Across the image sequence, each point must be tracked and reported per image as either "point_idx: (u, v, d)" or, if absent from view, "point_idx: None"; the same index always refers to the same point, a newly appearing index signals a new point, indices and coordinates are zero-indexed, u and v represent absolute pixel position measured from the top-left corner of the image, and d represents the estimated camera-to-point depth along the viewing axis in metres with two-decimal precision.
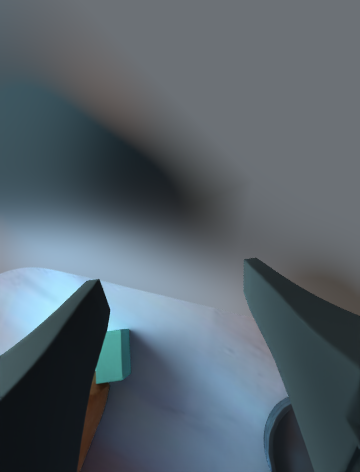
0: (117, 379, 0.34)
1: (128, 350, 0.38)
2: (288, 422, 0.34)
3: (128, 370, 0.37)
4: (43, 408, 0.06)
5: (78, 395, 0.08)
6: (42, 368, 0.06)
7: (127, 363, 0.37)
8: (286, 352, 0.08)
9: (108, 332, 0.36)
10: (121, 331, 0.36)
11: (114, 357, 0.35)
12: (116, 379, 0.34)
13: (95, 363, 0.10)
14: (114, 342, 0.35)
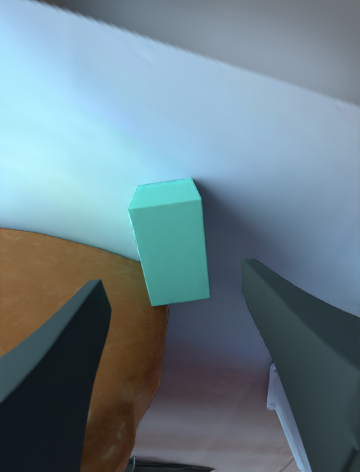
0: (199, 297, 0.15)
1: None
2: None
3: None
4: (46, 407, 0.06)
5: (80, 395, 0.08)
6: (45, 367, 0.06)
7: None
8: (284, 352, 0.08)
9: (165, 206, 0.12)
10: None
11: (188, 261, 0.14)
12: (197, 298, 0.15)
13: (97, 362, 0.10)
14: (186, 231, 0.13)
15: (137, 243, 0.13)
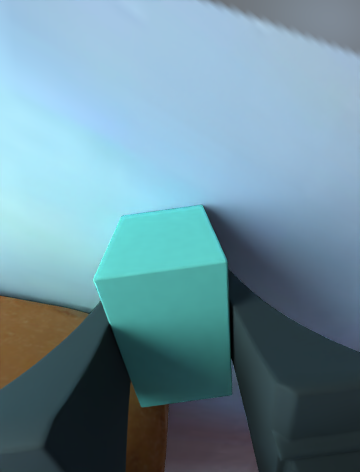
0: (215, 395, 0.10)
1: None
2: None
3: None
4: (101, 400, 0.06)
5: (122, 389, 0.08)
6: (98, 360, 0.06)
7: None
8: (238, 359, 0.08)
9: (162, 273, 0.07)
10: (227, 267, 0.07)
11: (200, 352, 0.08)
12: (211, 396, 0.10)
13: None
14: (198, 310, 0.07)
15: (113, 329, 0.08)
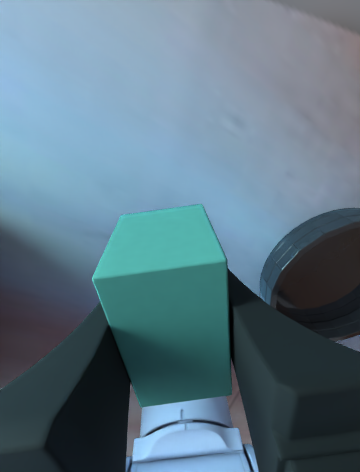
0: (214, 395, 0.10)
1: None
2: (313, 247, 0.20)
3: None
4: (101, 400, 0.06)
5: (122, 389, 0.08)
6: (98, 360, 0.06)
7: None
8: (238, 359, 0.08)
9: (161, 272, 0.07)
10: (227, 266, 0.07)
11: (200, 351, 0.08)
12: (211, 395, 0.10)
13: None
14: (197, 310, 0.07)
15: (112, 328, 0.08)
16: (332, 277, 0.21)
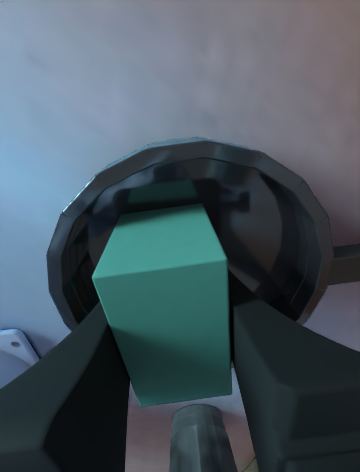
0: (214, 395, 0.10)
1: None
2: None
3: None
4: (100, 400, 0.06)
5: (122, 389, 0.08)
6: (97, 360, 0.06)
7: None
8: (238, 359, 0.08)
9: (161, 271, 0.07)
10: (227, 265, 0.07)
11: (200, 350, 0.08)
12: (211, 395, 0.10)
13: None
14: (197, 309, 0.07)
15: (112, 328, 0.08)
16: None
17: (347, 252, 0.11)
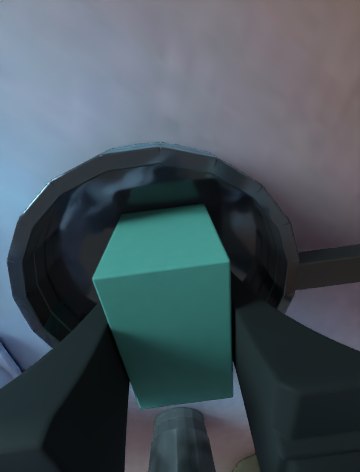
0: (215, 397, 0.10)
1: None
2: (102, 220, 0.11)
3: None
4: (99, 400, 0.06)
5: (121, 389, 0.08)
6: (97, 360, 0.06)
7: None
8: (239, 358, 0.08)
9: (163, 273, 0.06)
10: (230, 267, 0.07)
11: (201, 353, 0.08)
12: (212, 397, 0.10)
13: None
14: (200, 311, 0.07)
15: (112, 330, 0.07)
16: None
17: (314, 257, 0.11)
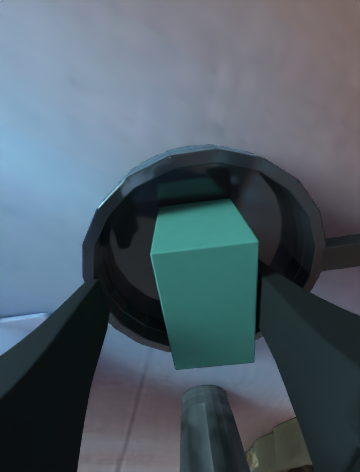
0: (239, 362, 0.11)
1: None
2: (154, 211, 0.13)
3: None
4: (43, 408, 0.06)
5: (78, 395, 0.08)
6: (42, 368, 0.06)
7: None
8: (286, 352, 0.08)
9: (205, 250, 0.08)
10: None
11: (230, 320, 0.10)
12: (236, 362, 0.11)
13: (95, 363, 0.10)
14: (232, 283, 0.09)
15: (161, 297, 0.09)
16: None
17: (337, 242, 0.13)
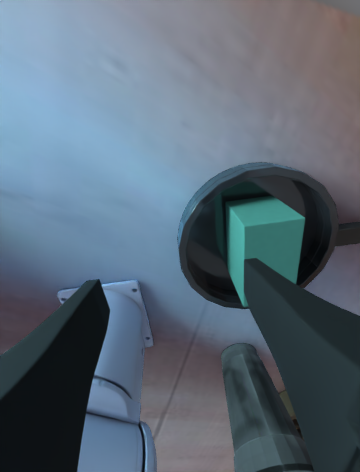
0: None
1: None
2: (224, 205, 0.19)
3: None
4: (43, 408, 0.06)
5: (78, 395, 0.08)
6: (42, 368, 0.06)
7: None
8: (286, 352, 0.08)
9: (275, 223, 0.15)
10: (304, 221, 0.15)
11: (283, 269, 0.16)
12: None
13: (95, 363, 0.10)
14: (287, 244, 0.15)
15: (245, 254, 0.15)
16: None
17: (346, 226, 0.19)
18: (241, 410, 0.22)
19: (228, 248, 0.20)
